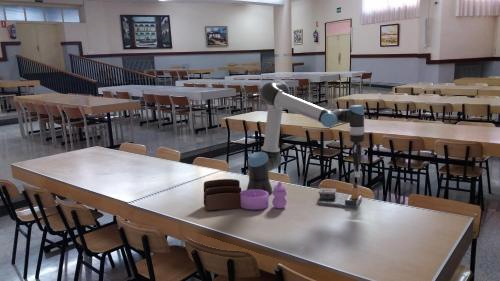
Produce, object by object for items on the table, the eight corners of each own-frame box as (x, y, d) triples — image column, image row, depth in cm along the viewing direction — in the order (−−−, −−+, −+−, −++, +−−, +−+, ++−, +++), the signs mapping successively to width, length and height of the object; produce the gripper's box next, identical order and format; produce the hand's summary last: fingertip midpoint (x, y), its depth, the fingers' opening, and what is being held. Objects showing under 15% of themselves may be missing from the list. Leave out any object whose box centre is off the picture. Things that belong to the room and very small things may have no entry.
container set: (236, 208, 213) (236, 183, 210) (243, 199, 227) (243, 176, 225) (284, 212, 207) (284, 187, 205) (288, 203, 222) (288, 179, 219)
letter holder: (203, 205, 221) (203, 179, 219) (239, 202, 226) (239, 177, 223) (205, 211, 211) (205, 184, 209) (243, 208, 216) (243, 182, 214)
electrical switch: (317, 192, 220) (319, 185, 229) (318, 201, 222) (320, 193, 230) (335, 192, 218) (336, 185, 226) (335, 201, 219) (336, 194, 228)
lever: (351, 198, 218) (351, 184, 217) (352, 196, 221) (352, 183, 220) (357, 199, 217) (357, 185, 216) (358, 197, 220) (358, 183, 218)
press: (318, 204, 216) (318, 197, 216) (325, 196, 230) (325, 189, 229) (356, 208, 208) (356, 201, 207) (361, 199, 221) (361, 192, 220)
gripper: (352, 132, 226) (352, 173, 230) (347, 136, 215) (347, 179, 219) (366, 132, 223) (366, 174, 227) (361, 136, 211) (361, 180, 215)
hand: (357, 176), depth 223 cm, fingers closed
